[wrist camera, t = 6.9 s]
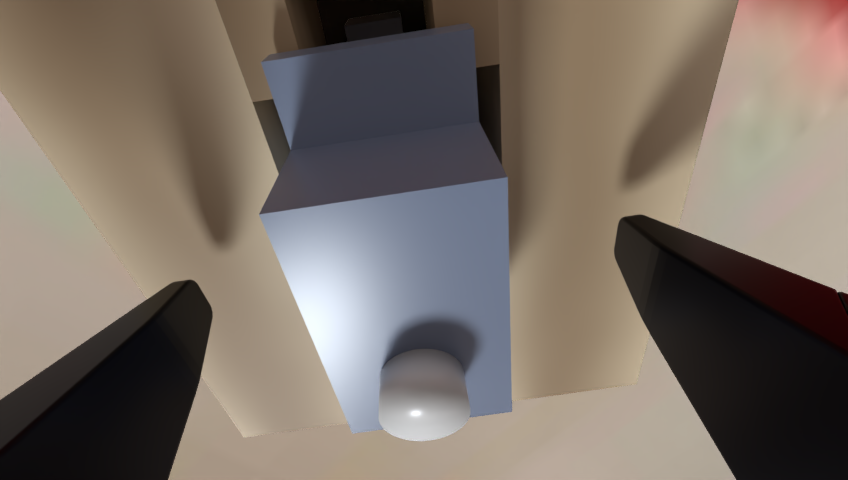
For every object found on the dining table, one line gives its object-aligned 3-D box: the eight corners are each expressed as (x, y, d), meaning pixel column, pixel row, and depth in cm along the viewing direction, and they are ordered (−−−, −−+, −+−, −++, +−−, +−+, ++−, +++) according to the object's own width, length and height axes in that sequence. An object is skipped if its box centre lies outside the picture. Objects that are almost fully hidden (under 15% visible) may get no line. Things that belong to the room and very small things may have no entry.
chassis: (679, -198, 8) (808, -263, 6) (598, 317, 16) (636, 384, 14) (20, -88, 8) (-136, -105, 6) (266, 363, 16) (243, 437, 14)
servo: (446, 2, 10) (524, 76, 4) (471, 279, 15) (521, 485, 9) (301, 26, 10) (184, 129, 4) (375, 293, 15) (365, 505, 9)
